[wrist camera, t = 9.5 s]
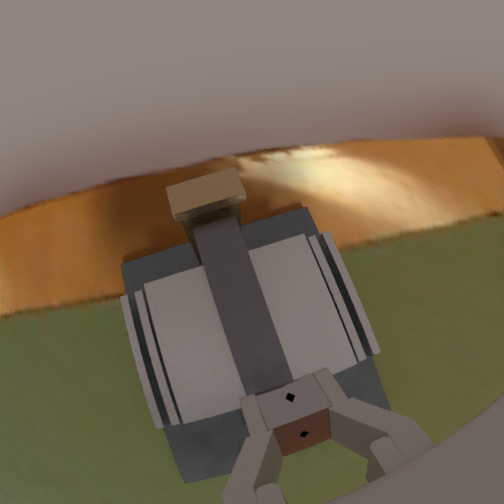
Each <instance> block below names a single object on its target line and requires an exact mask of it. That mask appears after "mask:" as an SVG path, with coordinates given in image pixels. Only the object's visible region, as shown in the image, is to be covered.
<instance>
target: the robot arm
mask: <svg viewBox="0 0 504 504" xmlns="http://www.w3.org/2000/svg"><path fill="white" fill-rule="evenodd" d="M254 394H255V395H254ZM254 394H251V395H248V396H245V397H241V398H239V401H240V405H241V408H242V412H243V415H244V418H245V421H246V424H247V428H248V431H249V434H250V437H247V438H246V439H245V441H244V444H243V446H242V449H241V451H240V454H239V456H238V458H237V461H236V463H235V465H234V468H233V470H232V473H231V475H230V477H229V479H228V482H227V484H226V486H225V489H224V491H223V493H222V499H223V504H288V503H287V501H286V499H285V497H284V495H283V493H282V491H281V489H280V487H279V485H278V484H277V482H278V478H279V474H280V470H281V467H282V463H283V459H284V458H283V457H285V456H287V455H290V454H292V453H295V452H298V451H300V450H303V449H305V448H308V447H310V446H313V445H316V444H319V443H321V442H324V441H326V440H329V439H332V440H333V441H335V442H337V443H339V444H340V445H342V446H344V447H346V448H348V449H350V450H351V451H353V452H355V453H357V454H359V455H361V456H363V457H365V458H367V459H368V466H367V474H366V479H367V481H368V484H366V485H364V486H362V487H360V488H357V489H355V490H353V491H351V492H349V493H346V494H344V495H342V496H339V497H337V498H335V499H332V500H330V501H327V502H325V503H322V504H504V393H503V394H502V395H501V396H500V397H498V398H497V399H496V400H495V401H494V402H493V403H491V404H490V405H489V406H488V407H487V408H485V409H484V410H483V411H482V412H481V413H479V414H478V415H477V416H475V417H474V418H473V419H472V420H470V421H469V422H468V423H466V424H465V425H464V426H462V427H461V428H460V429H458V430H457V431H455V432H454V433H453V434H451V435H450V436H448V437H447V438H445V439H444V440H442V441H441V442H440V443H438V444H436V445H434V444H433V443H432V442H431V440H430V439H429V438H428V437H427V435H426V434H425V433H424V431H423V430H422V429H421V428H420V426H419V425H418V424H417V423H416V421H415V420H414V419H412V418H409V417H406V416H403V415H400V414H397V413H394V412H391V411H388V410H386V409H383V408H380V407H377V406H374V405H372V404H369V403H366V402H363V401H361V400H358V399H355V398H350V399H348V397H347V396H346V395H345V393H344V392H343V390H342V389H341V387H340V386H339V384H338V383H337V381H336V380H335V378H334V377H333V375H332V374H331V372H330V371H329V369H328V368H326V367H325V368H322V369H320V370H317V371H315V372H312V373H309V374H307V375H304V376H302V377H299V378H297V379H294V380H292V381H289V382H286V383H284V384H282V385H279V386H276V387H273V388H270V389H267V390H264V391H260V392H257V393H254ZM255 396H256V397H255ZM256 399H257V400H256ZM257 402H258V403H257Z"/></svg>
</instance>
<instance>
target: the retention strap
mask: <svg viewBox="0 0 504 504" xmlns="http://www.w3.org/2000/svg"><path fill="white" fill-rule="evenodd" d="M192 230H193V233H194V237H195V240H196V243H197V247H198V250H199V253H200V257H201V260H202V263H203V267H204V270H205V273H206V276H207V280H208V283H209V286H210V289H211V292H212V295H213V299H214V302H215V305H216V308H217V311H218V314H219V317H220V320H221V323H222V326H223V329H224V332H225V335H226V338H227V341H228V344H229V347H230V350H231V353H232V356H233V359H234V362H235V365H236V368H237V370H238V373H239V376H240V379H241V382H242V385H243V387H244V390H245V393H246V396H248V395H251V394H254V393H257V392H260V391H264V390H267V389H270V388H273V387H276V386H279V385H282V384H284V383H286V382H289V381H292V380H294V379H293V376H292V374H291V371H290V368H289V365H288V363H287V360H286V357H285V354H284V351H283V349H282V346H281V343H280V340H279V337H278V335H277V332H276V329H275V326H274V323H273V321H272V318H271V315H270V312H269V309H268V307H267V304H266V301H265V298H264V295H263V293H262V290H261V287H260V284H259V281H258V278H257V276H256V273H255V270H254V267H253V264H252V262H251V259H250V256H249V253H248V250H247V247H246V245H245V242H244V239H243V236H242V233H241V231H240V228H239V225H238V222H237V219H236V216H232V217H229V218H226V219H222V220H219V221H216V222H213V223H209V224H206V225H203V226H200V227H197V228H193V229H192ZM254 395H255V394H254ZM255 397H256V396H255ZM256 400H257V399H256ZM257 403H258V402H257Z"/></svg>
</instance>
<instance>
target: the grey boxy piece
mask: <svg viewBox="0 0 504 504" xmlns="http://www.w3.org/2000/svg"><path fill="white" fill-rule="evenodd" d="M166 191H167V195H168V199H169V203H170V208H171V212H172V215H173V218H174V220H175V222H178V221H182V223H183V225H184V228H185V230H186V233H187V235H188V238H189V240H190V242H188V243H185V244H181V245H178V246H175V247H172V248H169V249H166V250H163V251H160V252H156V253H153V254H150V255H147V256H144V257H141V258H138V259H135V260H132V261H129V262H126V263H123V264H121V269H122V274H123V280H124V285H125V290H126V295H124V296H121V297H120V299H121V304H122V308H123V313H124V318H125V322H126V326H127V331H128V335H129V339H130V343H131V347H132V351H133V355H134V359H135V362H136V366H137V370H138V373H139V377H140V380H141V384H142V387H143V390H144V394H145V397H146V400H147V403H148V407H149V410H150V413H151V416H152V419H153V422H154V425H155V428H156V429H159V428H163V429H164V431H165V434H166V437H167V440H168V443H169V445H170V448H171V451H172V453H173V456H174V458H175V461H176V464H177V466H178V469H179V471H180V473H181V476H182V478H183V481H184V483H189V482H194V481H199V480H203V479H208V478H212V477H216V476H221V475H225V474H228V473H232V470H233V468H234V465H235V463H236V461H237V458H238V456H239V454H240V451H241V449H242V446H243V444H244V441H245V439H246V438H247V437H250V434H249V431H248V428H247V424H246V421H245V418H244V415H243V412H242V408H241V405H240V401H239V398H241V397H245V396H246V393H245V390H244V387H243V385H242V382H241V379H240V376H239V373H238V370H237V368H236V365H235V362H234V359H233V356H232V353H231V350H230V347H229V344H228V341H227V338H226V335H225V332H224V329H223V326H222V323H221V320H220V317H219V314H218V311H217V308H216V305H215V302H214V299H213V295H212V292H211V289H210V286H209V283H208V280H207V276H206V273H205V270H204V267H203V263H202V260H201V257H200V253H199V250H198V247H197V243H196V240H195V237H194V233H193V230H192V229H193V228H197V227H200V226H203V225H206V224H209V223H213V222H216V221H219V220H222V219H226V218H229V217H232V216H236V219H237V222H238V225H239V228H240V231H241V233H242V236H243V239H244V242H245V245H246V247H247V250H248V253H249V256H250V259H251V262H252V264H253V267H254V270H255V273H256V276H257V278H258V281H259V284H260V287H261V290H262V293H263V295H264V298H265V301H266V304H267V307H268V309H269V312H270V315H271V318H272V321H273V323H274V326H275V329H276V332H277V335H278V337H279V340H280V343H281V346H282V349H283V351H284V354H285V357H286V360H287V363H288V365H289V368H290V371H291V374H292V376H293V379H297V378H299V377H302V376H304V375H307V374H309V373H312V372H315V371H317V370H320V369H322V368H325V367H326V368H328V369H329V371H330V372H331V374H332V375H333V377H334V378H335V380H336V381H337V383H338V384H339V386H340V387H341V389H342V390H343V392H344V393H345V395H346V396H347V397H348V399H350V398H355V399H358V400H361V401H363V402H366V403H369V404H372V405H374V406H377V407H380V408H383V409H386V410H388V411H390V410H391V409H390V407H389V404H388V401H387V398H386V395H385V392H384V390H383V387H382V384H381V381H380V379H379V376H378V373H377V370H376V368H375V365H374V362H373V360H372V357H371V356H372V355H375V354H377V353H379V352H381V351H380V348H379V346H378V343H377V341H376V338H375V336H374V333H373V331H372V328H371V326H370V323H369V321H368V318H367V316H366V313H365V311H364V309H363V306H362V304H361V301H360V299H359V297H358V294H357V292H356V290H355V287H354V285H353V283H352V280H351V278H350V276H349V274H348V271H347V269H346V267H345V265H344V262H343V260H342V258H341V256H340V254H339V251H338V249H337V247H336V245H335V243H334V241H333V238H332V236H331V234H330V232H329V231H326V232H323V233H322V234H321V236H320V234H319V232H318V230H317V227H316V225H315V223H314V221H313V219H312V217H311V215H310V213H309V210H308V208H307V207H303V208H300V209H296V210H293V211H289V212H286V213H283V214H279V215H276V216H272V217H269V218H266V219H262V220H259V221H256V222H252V223H249V224H246V225H243V226H241V214H240V203H241V202H244V201H246V192H245V189H244V187H243V184H242V182H241V179H240V177H239V174H238V172H237V169H236V167H232V168H229V169H225V170H222V171H218V172H215V173H211V174H208V175H204V176H201V177H198V178H194V179H191V180H188V181H184V182H181V183H178V184H175V185H172V186H169V187H166ZM326 441H327V440H326ZM321 443H322V442H321ZM319 444H320V443H319ZM316 445H317V444H316ZM313 446H315V445H313ZM310 447H312V446H310ZM308 448H309V447H308ZM305 449H307V448H305ZM303 450H304V449H303ZM300 451H302V450H300ZM298 452H299V451H298ZM295 453H296V452H295ZM292 454H293V453H292ZM290 455H291V454H290ZM287 456H288V455H287Z"/></svg>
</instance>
